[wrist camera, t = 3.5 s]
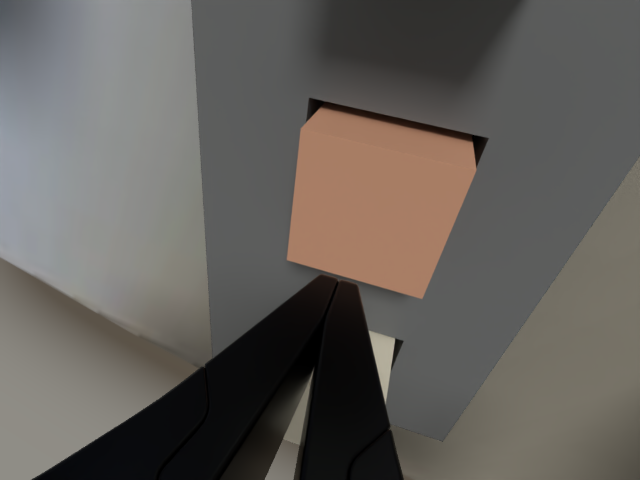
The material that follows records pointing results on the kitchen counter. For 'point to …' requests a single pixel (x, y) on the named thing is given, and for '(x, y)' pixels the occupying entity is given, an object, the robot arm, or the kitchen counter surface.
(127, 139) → the kitchen counter surface
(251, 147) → the button board
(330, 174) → the terracotta button
